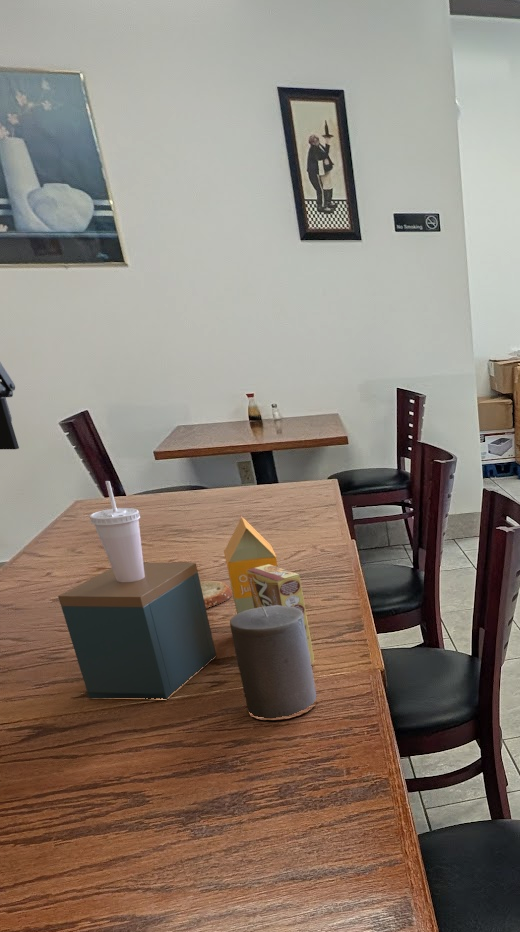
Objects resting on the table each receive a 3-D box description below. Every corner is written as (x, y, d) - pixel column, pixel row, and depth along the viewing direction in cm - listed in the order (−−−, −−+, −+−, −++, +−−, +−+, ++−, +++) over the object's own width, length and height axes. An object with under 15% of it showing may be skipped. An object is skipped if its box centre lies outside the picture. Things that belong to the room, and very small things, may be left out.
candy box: (316, 666, 130) (301, 573, 124) (293, 674, 127) (276, 580, 121) (285, 652, 135) (269, 562, 129) (262, 660, 133) (245, 569, 126)
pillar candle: (241, 725, 113) (219, 623, 106) (254, 694, 121) (234, 598, 115) (314, 718, 114) (297, 617, 107) (321, 689, 123) (306, 593, 116)
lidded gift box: (89, 699, 121) (57, 596, 114) (146, 656, 135) (122, 562, 128) (166, 700, 120) (140, 596, 113) (216, 657, 134) (195, 562, 127)
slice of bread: (240, 592, 164) (237, 574, 162) (188, 624, 148) (184, 605, 146) (159, 589, 167) (155, 571, 165) (100, 620, 151) (94, 601, 149)
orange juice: (243, 647, 138) (219, 530, 129) (239, 630, 145) (216, 518, 136) (291, 639, 141) (271, 524, 132) (284, 623, 148) (265, 512, 139)
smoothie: (159, 570, 124) (137, 476, 118) (148, 583, 118) (123, 485, 112) (114, 573, 123) (89, 478, 117) (100, 586, 117) (73, 488, 111)
